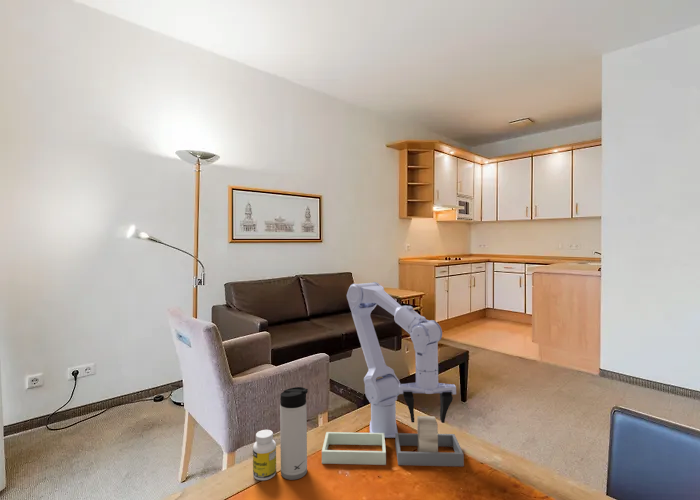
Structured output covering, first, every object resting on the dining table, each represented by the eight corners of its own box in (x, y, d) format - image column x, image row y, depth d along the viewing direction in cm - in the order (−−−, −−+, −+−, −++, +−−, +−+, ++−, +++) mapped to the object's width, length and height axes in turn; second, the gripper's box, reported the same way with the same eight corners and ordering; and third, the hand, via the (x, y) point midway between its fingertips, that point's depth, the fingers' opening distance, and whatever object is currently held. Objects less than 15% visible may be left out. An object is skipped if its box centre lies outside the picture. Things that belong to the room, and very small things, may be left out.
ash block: (417, 450, 99) (417, 416, 99) (434, 450, 98) (434, 416, 98) (420, 459, 94) (419, 423, 94) (438, 459, 94) (437, 424, 94)
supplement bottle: (248, 477, 87) (247, 435, 87) (263, 465, 92) (263, 426, 92) (266, 484, 85) (265, 441, 85) (281, 471, 90) (280, 430, 90)
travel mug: (303, 482, 85) (302, 395, 85) (276, 478, 87) (275, 393, 87) (311, 466, 91) (311, 385, 92) (286, 463, 93) (285, 383, 93)
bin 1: (326, 442, 103) (326, 432, 103) (384, 443, 102) (384, 432, 102) (321, 463, 93) (321, 451, 93) (385, 464, 92) (385, 452, 92)
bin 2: (395, 444, 102) (395, 433, 102) (454, 445, 101) (454, 434, 101) (398, 465, 92) (398, 452, 92) (463, 466, 91) (463, 454, 91)
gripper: (399, 373, 93) (400, 427, 93) (458, 373, 92) (459, 428, 92) (397, 364, 100) (398, 415, 100) (452, 365, 99) (453, 416, 99)
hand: (427, 420), depth 96 cm, fingers open, 7 cm apart
